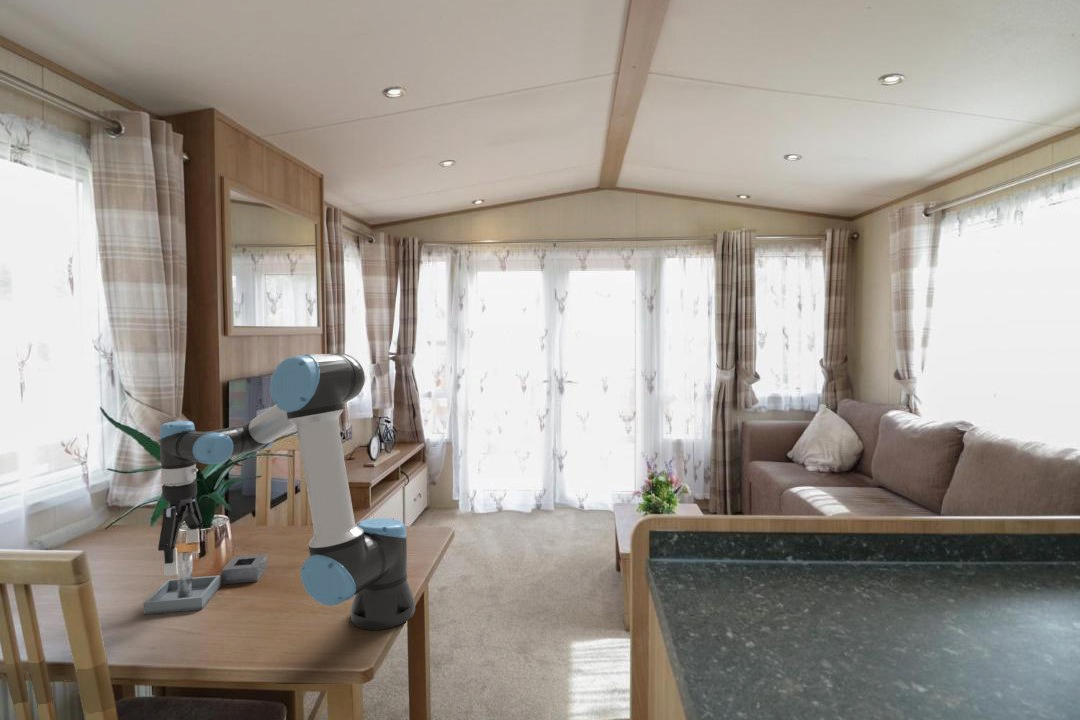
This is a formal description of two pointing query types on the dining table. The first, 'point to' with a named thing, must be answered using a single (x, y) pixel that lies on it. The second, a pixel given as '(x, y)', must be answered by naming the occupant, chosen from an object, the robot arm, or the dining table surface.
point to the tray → (169, 602)
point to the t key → (185, 568)
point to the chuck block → (244, 569)
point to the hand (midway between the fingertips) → (183, 563)
